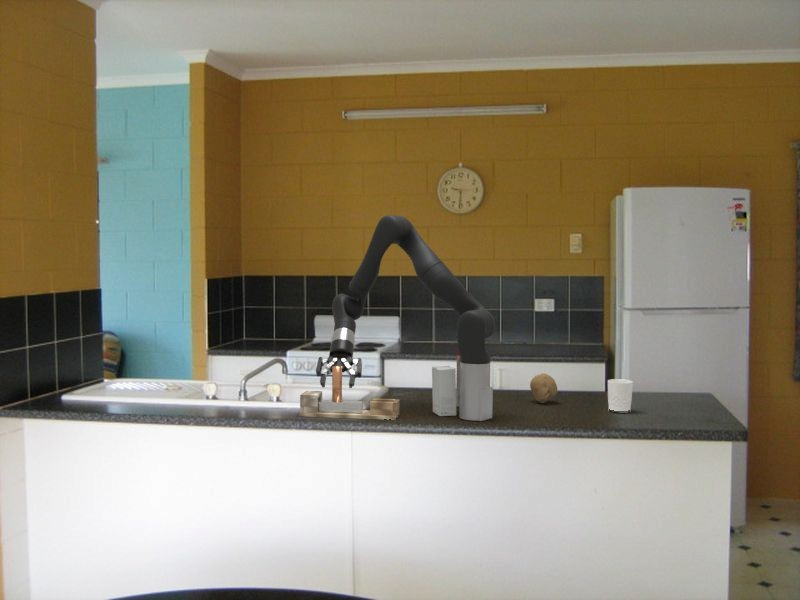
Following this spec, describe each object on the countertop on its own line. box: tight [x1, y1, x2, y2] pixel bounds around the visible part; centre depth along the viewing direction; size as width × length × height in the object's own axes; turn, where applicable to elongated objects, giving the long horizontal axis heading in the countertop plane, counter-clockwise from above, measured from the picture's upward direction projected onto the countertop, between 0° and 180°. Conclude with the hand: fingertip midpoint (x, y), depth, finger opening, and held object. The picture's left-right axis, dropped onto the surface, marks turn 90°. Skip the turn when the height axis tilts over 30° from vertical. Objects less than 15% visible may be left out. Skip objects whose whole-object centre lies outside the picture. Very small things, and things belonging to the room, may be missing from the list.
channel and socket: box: [298, 390, 400, 421], centre depth 251 cm, size 30×8×7 cm, turn 82°
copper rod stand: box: [318, 366, 364, 413], centre depth 251 cm, size 16×3×14 cm, turn 82°
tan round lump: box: [529, 373, 558, 403], centre depth 275 cm, size 9×9×10 cm
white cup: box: [607, 378, 634, 411], centre depth 261 cm, size 8×8×10 cm
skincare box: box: [431, 365, 457, 417], centre depth 255 cm, size 8×6×15 cm
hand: (336, 386), depth 251 cm, fingers open, 8 cm apart
